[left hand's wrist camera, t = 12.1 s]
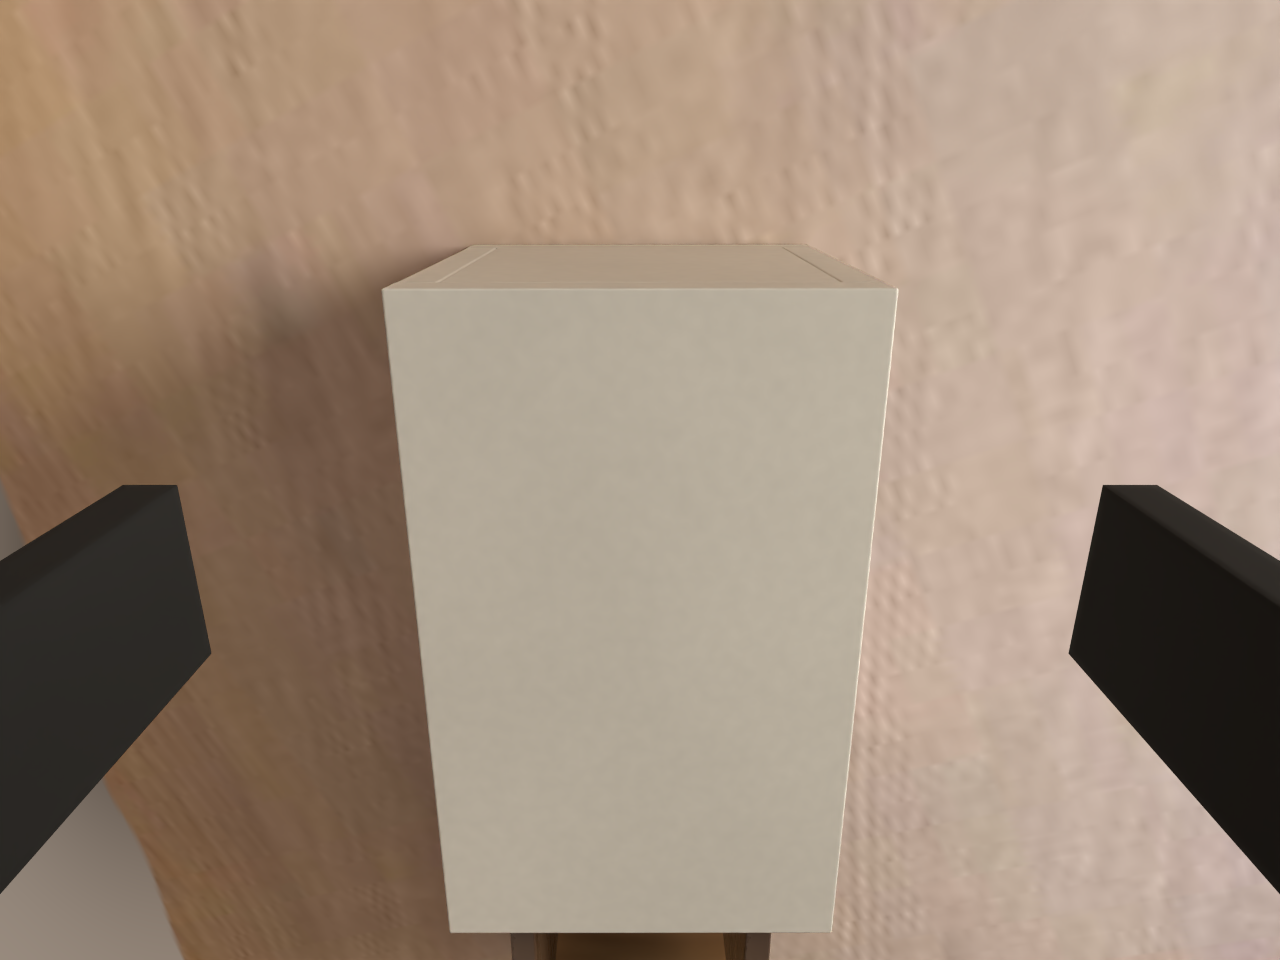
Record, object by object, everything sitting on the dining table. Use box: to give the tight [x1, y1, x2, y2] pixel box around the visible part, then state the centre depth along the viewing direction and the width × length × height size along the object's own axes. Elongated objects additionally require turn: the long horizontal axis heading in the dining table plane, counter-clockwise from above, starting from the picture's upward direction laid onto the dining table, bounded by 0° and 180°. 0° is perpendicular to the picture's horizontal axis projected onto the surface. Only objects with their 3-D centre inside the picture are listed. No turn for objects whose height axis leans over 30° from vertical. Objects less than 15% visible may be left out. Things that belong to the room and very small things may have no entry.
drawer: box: [511, 933, 771, 960], centre depth 31 cm, size 23×10×9 cm, turn 0°
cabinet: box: [381, 244, 898, 933], centre depth 27 cm, size 19×11×11 cm, turn 0°
